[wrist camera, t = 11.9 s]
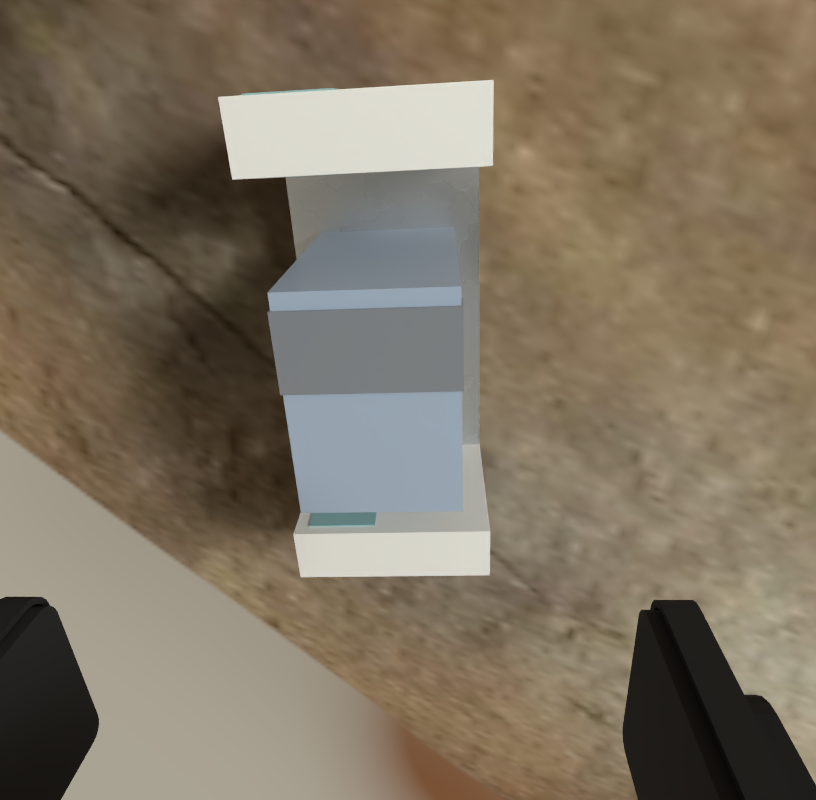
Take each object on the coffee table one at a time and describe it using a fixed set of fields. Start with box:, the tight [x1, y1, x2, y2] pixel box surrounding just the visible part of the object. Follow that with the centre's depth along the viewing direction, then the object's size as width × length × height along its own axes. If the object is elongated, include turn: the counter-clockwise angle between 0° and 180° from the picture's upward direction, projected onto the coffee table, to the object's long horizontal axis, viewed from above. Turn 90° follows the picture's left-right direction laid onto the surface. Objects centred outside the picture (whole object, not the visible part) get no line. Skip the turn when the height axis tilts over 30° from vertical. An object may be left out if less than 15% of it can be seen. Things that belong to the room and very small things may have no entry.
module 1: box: [218, 80, 493, 180], centre depth 18 cm, size 2×7×6 cm, turn 93°
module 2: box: [267, 227, 464, 513], centre depth 21 cm, size 7×5×8 cm
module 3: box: [293, 444, 490, 577], centre depth 25 cm, size 2×7×6 cm, turn 93°
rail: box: [286, 167, 479, 445], centre depth 25 cm, size 16×7×2 cm, turn 3°
